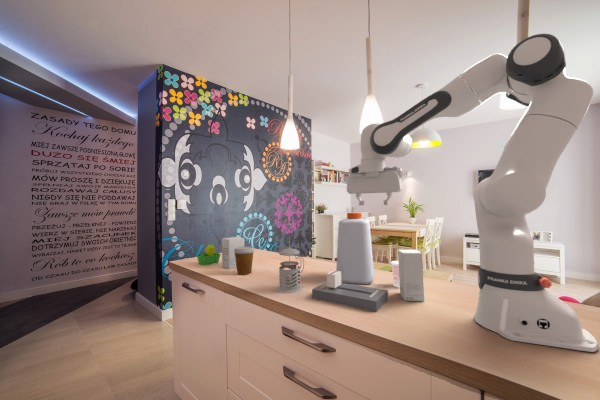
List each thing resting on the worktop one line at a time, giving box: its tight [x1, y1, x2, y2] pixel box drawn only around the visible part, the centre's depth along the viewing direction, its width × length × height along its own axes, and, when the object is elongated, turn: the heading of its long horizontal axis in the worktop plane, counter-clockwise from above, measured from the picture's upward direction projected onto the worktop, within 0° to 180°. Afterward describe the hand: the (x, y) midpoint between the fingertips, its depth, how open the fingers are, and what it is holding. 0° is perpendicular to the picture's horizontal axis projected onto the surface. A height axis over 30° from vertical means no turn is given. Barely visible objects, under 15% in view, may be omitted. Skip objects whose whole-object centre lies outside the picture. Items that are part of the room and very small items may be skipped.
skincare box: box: [397, 249, 425, 302], centre depth 89 cm, size 8×7×16 cm
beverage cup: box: [390, 248, 401, 289], centre depth 102 cm, size 6×6×14 cm
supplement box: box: [221, 236, 246, 270], centre depth 138 cm, size 9×9×15 cm
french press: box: [276, 222, 305, 294], centre depth 101 cm, size 10×12×25 cm
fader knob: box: [326, 270, 342, 288], centre depth 92 cm, size 3×5×5 cm, turn 147°
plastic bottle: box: [335, 212, 375, 285], centre depth 112 cm, size 15×15×28 cm
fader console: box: [311, 280, 389, 313], centre depth 89 cm, size 22×12×3 cm, turn 57°
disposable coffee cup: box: [234, 245, 255, 276], centre depth 124 cm, size 10×10×12 cm
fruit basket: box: [196, 243, 222, 266], centre depth 146 cm, size 11×9×11 cm
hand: (373, 205), depth 99 cm, fingers open, 8 cm apart
